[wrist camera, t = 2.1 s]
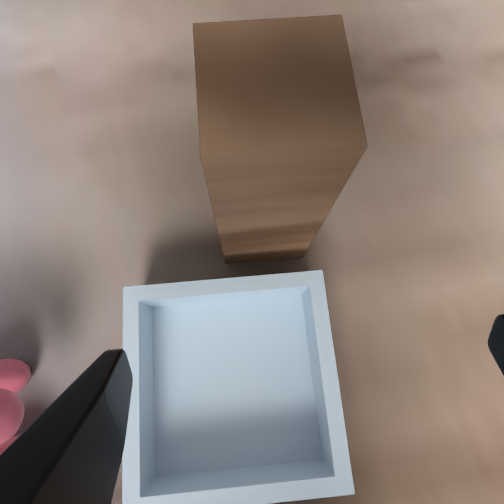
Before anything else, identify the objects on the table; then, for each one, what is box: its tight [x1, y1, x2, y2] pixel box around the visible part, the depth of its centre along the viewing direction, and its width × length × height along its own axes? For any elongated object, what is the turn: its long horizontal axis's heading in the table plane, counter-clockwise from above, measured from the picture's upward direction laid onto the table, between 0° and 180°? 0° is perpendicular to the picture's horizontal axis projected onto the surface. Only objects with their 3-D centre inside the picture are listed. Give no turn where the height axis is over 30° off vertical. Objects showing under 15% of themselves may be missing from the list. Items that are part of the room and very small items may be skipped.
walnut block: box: [193, 15, 367, 263], centre depth 18 cm, size 5×5×13 cm
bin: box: [122, 270, 355, 504], centre depth 20 cm, size 11×11×4 cm
